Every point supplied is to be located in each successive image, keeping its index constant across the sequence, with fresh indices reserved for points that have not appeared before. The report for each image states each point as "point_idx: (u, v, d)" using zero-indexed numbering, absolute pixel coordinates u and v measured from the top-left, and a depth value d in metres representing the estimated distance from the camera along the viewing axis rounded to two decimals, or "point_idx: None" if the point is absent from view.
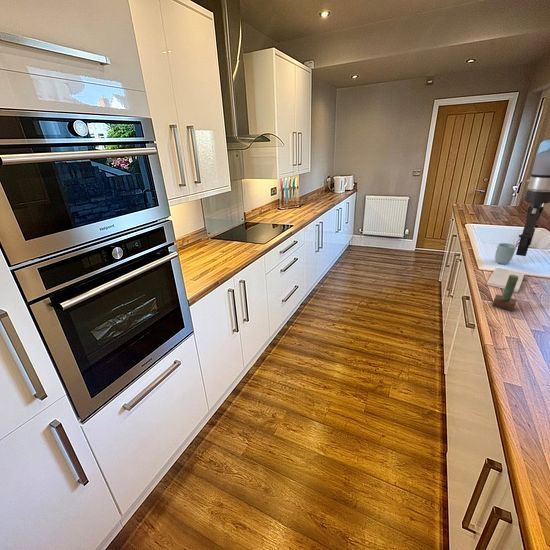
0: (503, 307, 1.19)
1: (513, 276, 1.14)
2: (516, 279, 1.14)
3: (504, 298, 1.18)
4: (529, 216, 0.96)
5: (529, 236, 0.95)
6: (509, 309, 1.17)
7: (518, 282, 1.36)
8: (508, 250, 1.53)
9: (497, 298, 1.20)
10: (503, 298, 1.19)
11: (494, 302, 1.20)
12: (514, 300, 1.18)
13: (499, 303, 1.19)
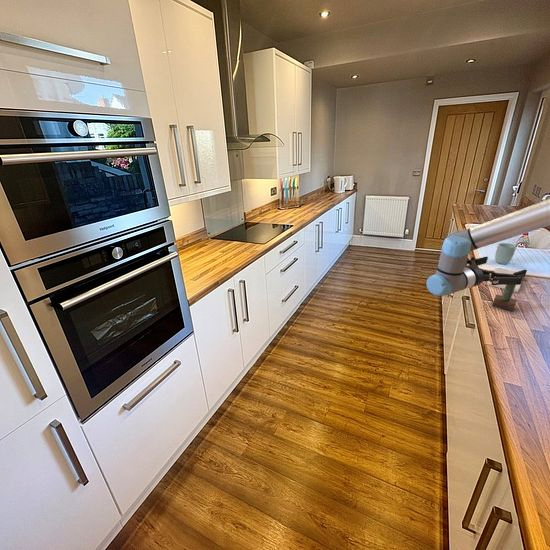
0: (503, 307, 1.19)
1: None
2: None
3: (504, 298, 1.18)
4: (500, 283, 0.98)
5: (522, 279, 0.97)
6: (509, 309, 1.17)
7: None
8: (508, 250, 1.53)
9: (497, 298, 1.20)
10: (503, 298, 1.19)
11: (494, 302, 1.20)
12: (514, 300, 1.18)
13: (499, 303, 1.19)
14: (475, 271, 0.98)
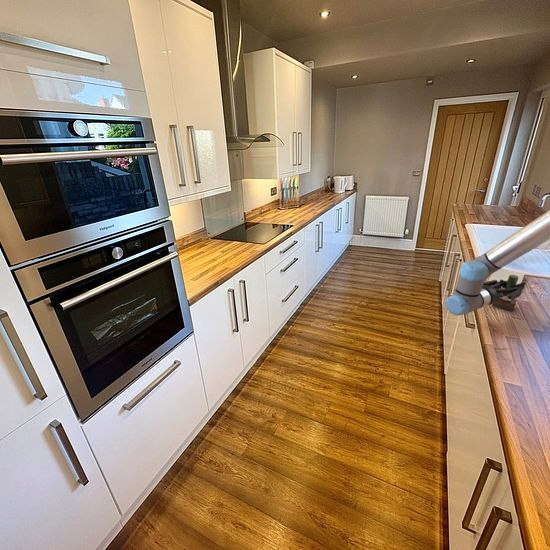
0: (503, 307, 1.19)
1: (513, 276, 1.14)
2: (516, 279, 1.14)
3: None
4: (512, 299, 1.09)
5: None
6: (509, 309, 1.17)
7: (518, 282, 1.36)
8: None
9: None
10: None
11: None
12: (514, 300, 1.18)
13: (499, 303, 1.19)
14: (490, 291, 1.07)
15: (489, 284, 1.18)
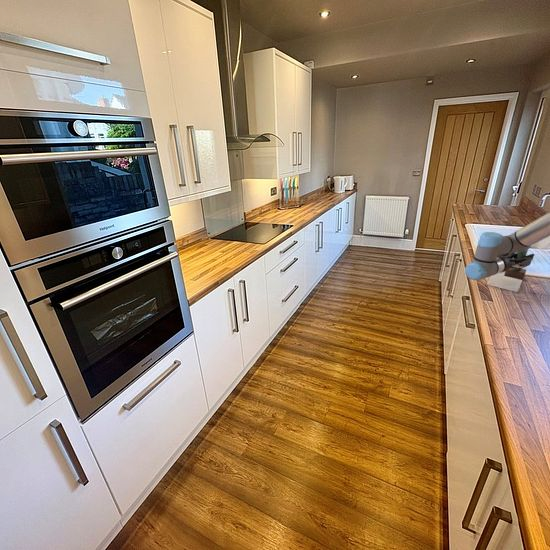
0: (514, 276, 1.34)
1: None
2: (526, 250, 1.29)
3: (515, 268, 1.33)
4: (523, 267, 1.24)
5: None
6: (519, 278, 1.32)
7: (518, 282, 1.36)
8: None
9: None
10: (514, 268, 1.34)
11: (506, 272, 1.35)
12: (524, 270, 1.33)
13: (510, 273, 1.34)
14: (504, 260, 1.22)
15: (502, 256, 1.33)
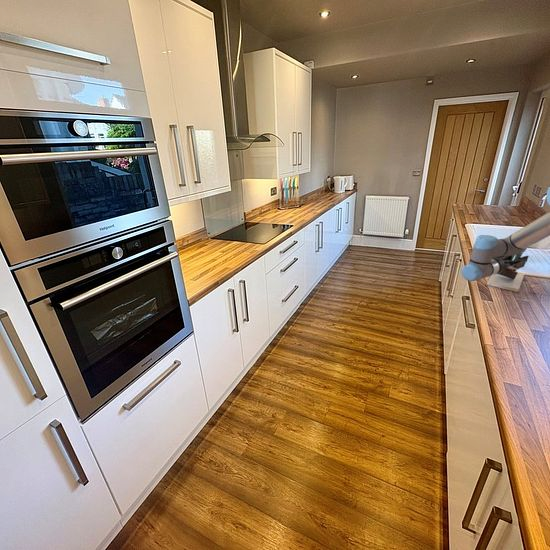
0: (507, 275, 1.37)
1: None
2: None
3: None
4: (517, 268, 1.29)
5: None
6: (511, 277, 1.36)
7: (518, 282, 1.36)
8: None
9: None
10: None
11: None
12: None
13: (504, 271, 1.37)
14: (498, 261, 1.28)
15: (497, 257, 1.38)
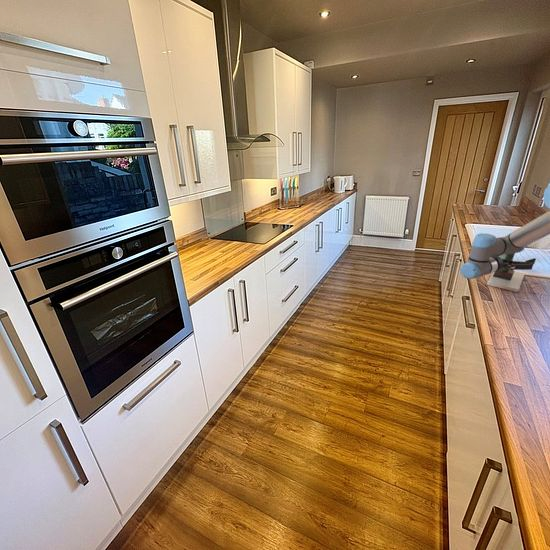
0: (502, 277, 1.39)
1: None
2: None
3: (503, 269, 1.39)
4: (516, 268, 1.29)
5: (532, 265, 1.28)
6: (507, 278, 1.38)
7: (518, 282, 1.36)
8: None
9: None
10: (502, 269, 1.39)
11: (495, 273, 1.41)
12: (512, 271, 1.39)
13: (499, 273, 1.40)
14: (497, 259, 1.29)
15: None
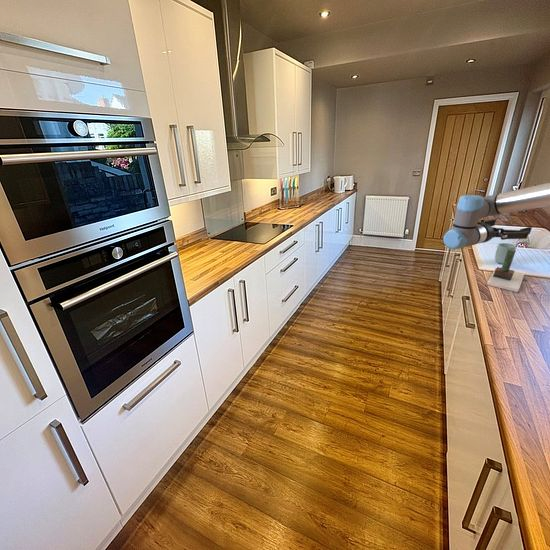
0: (502, 277, 1.39)
1: (511, 250, 1.35)
2: (513, 252, 1.34)
3: (503, 269, 1.39)
4: (509, 237, 1.10)
5: (528, 233, 1.09)
6: (507, 278, 1.38)
7: (518, 282, 1.36)
8: None
9: (497, 269, 1.41)
10: (502, 269, 1.39)
11: (495, 273, 1.41)
12: (512, 271, 1.39)
13: (499, 273, 1.40)
14: (486, 227, 1.11)
15: (477, 224, 1.23)
